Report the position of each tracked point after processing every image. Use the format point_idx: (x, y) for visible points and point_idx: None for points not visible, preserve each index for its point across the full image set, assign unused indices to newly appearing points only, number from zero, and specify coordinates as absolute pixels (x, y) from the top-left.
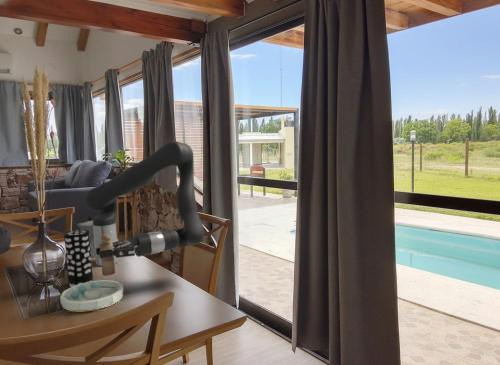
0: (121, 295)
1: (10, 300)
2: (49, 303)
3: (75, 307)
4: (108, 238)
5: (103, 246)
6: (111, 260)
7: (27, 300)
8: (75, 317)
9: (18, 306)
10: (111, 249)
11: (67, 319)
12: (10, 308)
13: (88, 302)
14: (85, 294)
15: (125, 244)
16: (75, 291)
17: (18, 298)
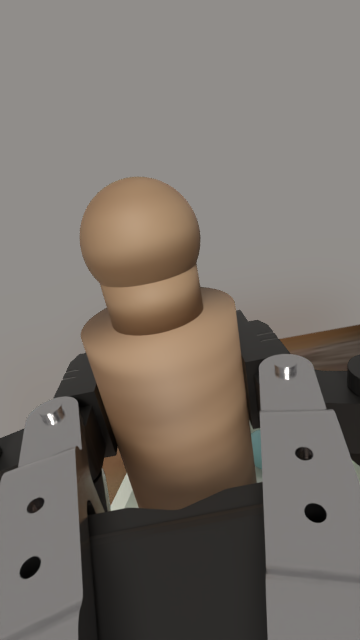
0: None
1: (343, 334)
2: None
3: None
4: (84, 248)
5: (108, 313)
6: (134, 493)
7: (333, 358)
8: (116, 480)
9: (292, 352)
10: (106, 403)
11: (120, 459)
12: (284, 344)
13: (116, 496)
14: None
15: (17, 606)
16: (255, 439)
17: (355, 342)
